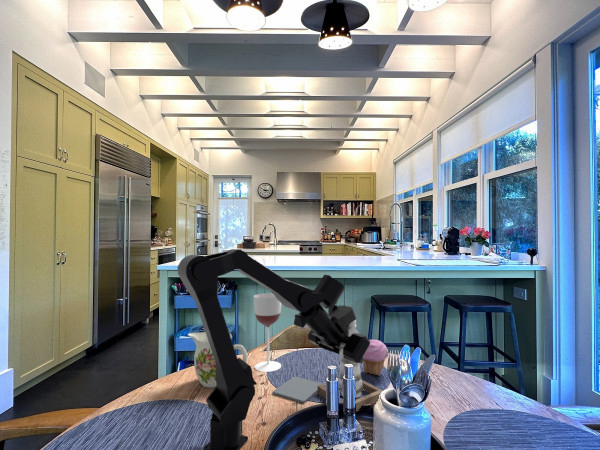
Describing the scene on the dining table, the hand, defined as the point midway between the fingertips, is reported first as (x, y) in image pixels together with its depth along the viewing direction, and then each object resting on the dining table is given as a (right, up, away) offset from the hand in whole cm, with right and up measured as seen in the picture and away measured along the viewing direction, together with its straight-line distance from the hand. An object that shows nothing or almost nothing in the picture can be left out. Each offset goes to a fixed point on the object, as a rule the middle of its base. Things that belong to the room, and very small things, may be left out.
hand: (353, 358), depth 83 cm
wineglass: (-25, -11, +19) cm, 33 cm away
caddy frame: (-1, -10, -1) cm, 10 cm away
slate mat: (-15, -10, +3) cm, 18 cm away
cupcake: (+9, -10, +13) cm, 19 cm away
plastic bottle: (-1, -10, -1) cm, 10 cm away
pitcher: (-39, -11, +8) cm, 41 cm away
